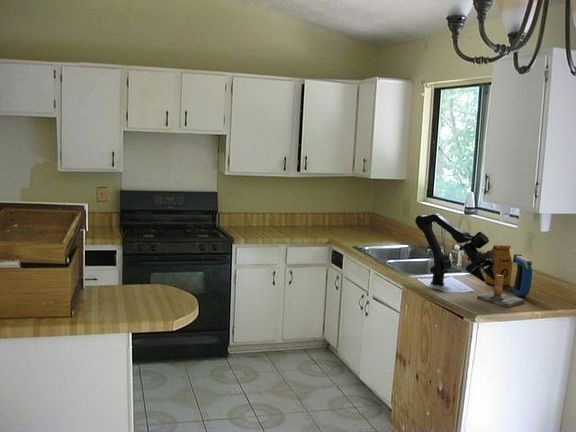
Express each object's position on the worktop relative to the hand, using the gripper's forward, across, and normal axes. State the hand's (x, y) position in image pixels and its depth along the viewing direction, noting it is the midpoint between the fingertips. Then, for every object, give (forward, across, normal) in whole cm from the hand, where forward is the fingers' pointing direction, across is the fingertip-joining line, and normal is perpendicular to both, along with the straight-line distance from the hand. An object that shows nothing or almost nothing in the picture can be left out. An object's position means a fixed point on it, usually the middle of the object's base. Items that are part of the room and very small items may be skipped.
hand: (489, 280), depth 290 cm
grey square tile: (+10, +4, +3) cm, 11 cm away
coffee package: (-2, +34, +16) cm, 38 cm away
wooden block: (+10, 0, +3) cm, 11 cm away
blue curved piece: (+9, +25, +4) cm, 27 cm away
